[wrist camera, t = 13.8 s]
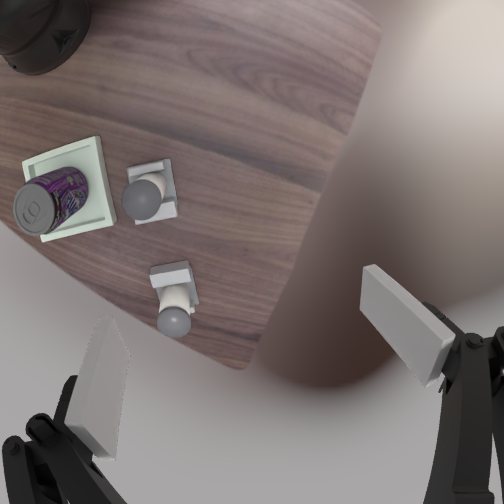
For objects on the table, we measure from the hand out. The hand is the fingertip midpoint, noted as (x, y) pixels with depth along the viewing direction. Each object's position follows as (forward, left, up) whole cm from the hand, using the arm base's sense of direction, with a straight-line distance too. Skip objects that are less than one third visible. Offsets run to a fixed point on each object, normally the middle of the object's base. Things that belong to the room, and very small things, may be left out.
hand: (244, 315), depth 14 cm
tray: (-5, -21, -31) cm, 38 cm away
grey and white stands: (+6, -8, -31) cm, 32 cm away
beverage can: (-5, -21, -30) cm, 37 cm away
